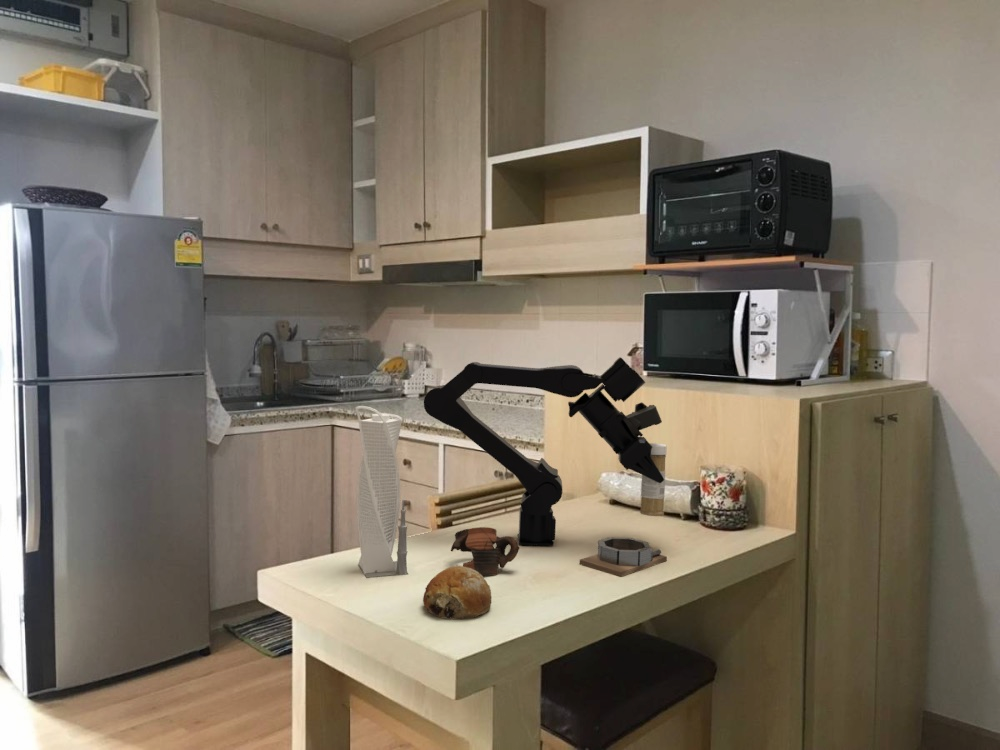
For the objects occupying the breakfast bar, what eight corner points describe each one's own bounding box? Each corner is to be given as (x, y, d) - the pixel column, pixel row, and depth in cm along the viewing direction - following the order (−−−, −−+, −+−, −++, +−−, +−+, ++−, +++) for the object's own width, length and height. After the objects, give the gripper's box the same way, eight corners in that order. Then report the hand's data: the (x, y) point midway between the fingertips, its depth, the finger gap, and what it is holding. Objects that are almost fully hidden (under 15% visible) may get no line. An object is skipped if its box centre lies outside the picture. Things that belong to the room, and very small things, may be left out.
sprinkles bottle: (650, 512, 158) (652, 442, 158) (669, 515, 154) (671, 444, 154) (634, 513, 155) (637, 443, 155) (653, 517, 151) (656, 445, 152)
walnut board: (621, 576, 138) (621, 572, 138) (579, 564, 144) (579, 559, 144) (666, 560, 148) (666, 556, 148) (625, 549, 154) (625, 545, 154)
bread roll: (493, 639, 119) (514, 587, 120) (439, 622, 113) (462, 567, 114) (457, 617, 127) (476, 568, 128) (405, 600, 121) (426, 549, 122)
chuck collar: (630, 569, 139) (630, 554, 139) (588, 556, 146) (589, 543, 145) (666, 556, 147) (667, 543, 147) (625, 545, 154) (625, 532, 153)
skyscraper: (357, 580, 132) (361, 408, 130) (348, 565, 139) (351, 403, 137) (408, 576, 135) (412, 408, 133) (396, 561, 143) (400, 402, 140)
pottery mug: (446, 579, 135) (442, 530, 138) (464, 588, 143) (460, 541, 147) (516, 567, 132) (510, 518, 136) (529, 577, 141) (524, 530, 144)
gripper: (642, 394, 144) (701, 459, 145) (632, 385, 163) (684, 443, 163) (595, 436, 145) (654, 500, 146) (590, 422, 164) (642, 479, 164)
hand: (660, 479), depth 155 cm, fingers closed on sprinkles bottle, 4 cm apart
